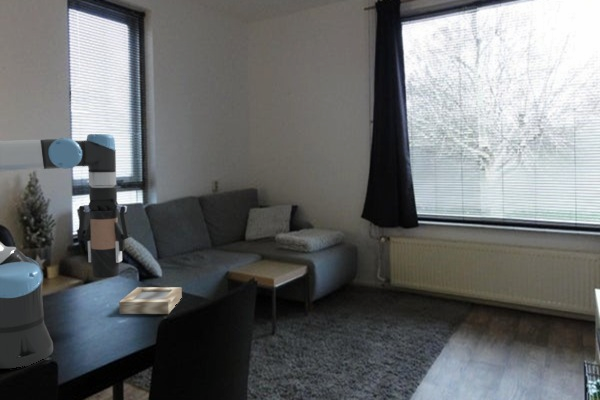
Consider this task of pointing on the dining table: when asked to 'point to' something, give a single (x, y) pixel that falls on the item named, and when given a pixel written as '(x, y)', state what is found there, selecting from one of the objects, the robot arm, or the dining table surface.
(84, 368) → the dining table surface
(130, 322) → the dining table surface
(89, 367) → the dining table surface
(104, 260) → the travel mug
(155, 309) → the display stand
